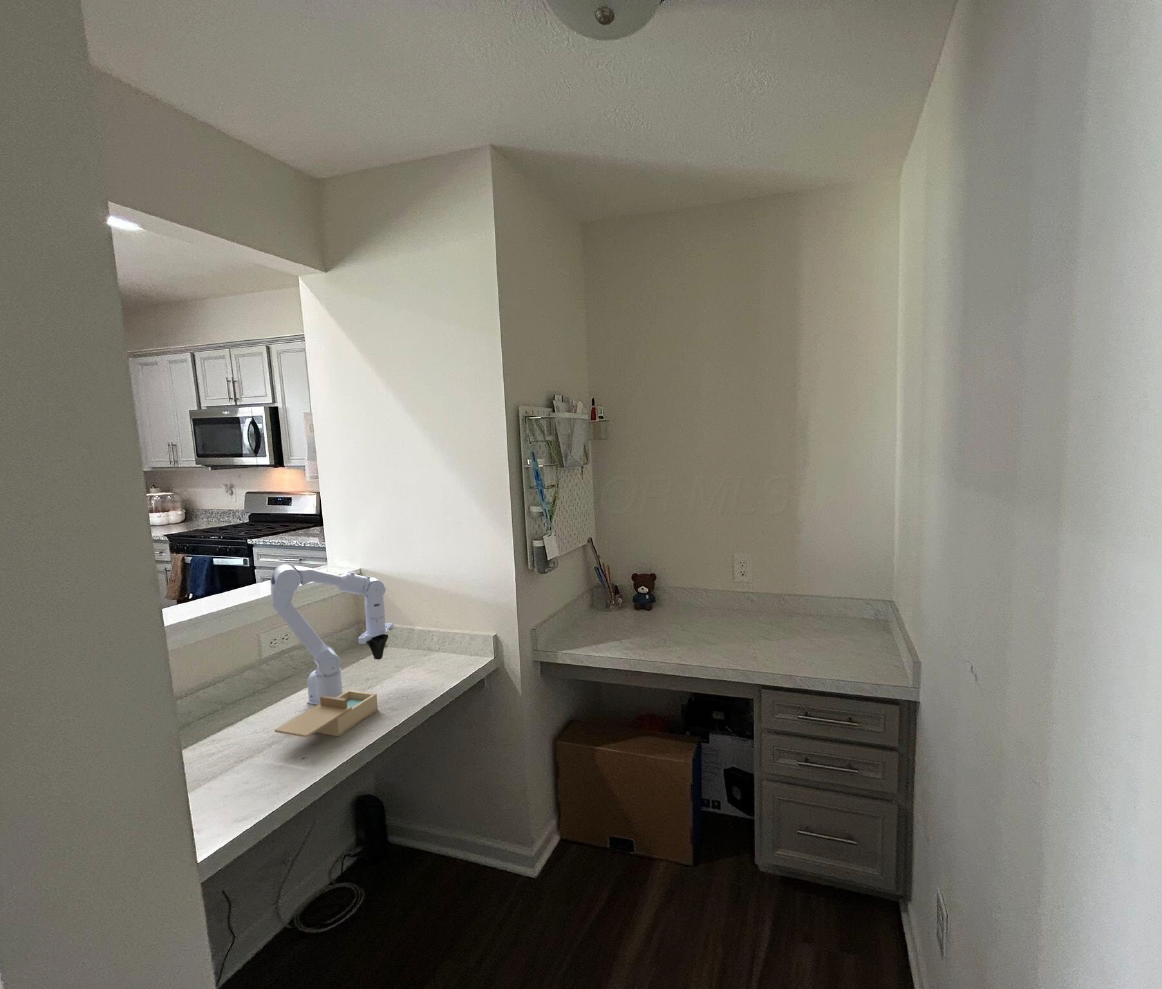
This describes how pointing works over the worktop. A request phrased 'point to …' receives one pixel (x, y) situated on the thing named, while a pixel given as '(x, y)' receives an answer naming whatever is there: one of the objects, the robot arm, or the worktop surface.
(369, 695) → the lidded box
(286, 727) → the lid
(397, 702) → the worktop surface
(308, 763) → the worktop surface
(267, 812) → the worktop surface
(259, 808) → the worktop surface
